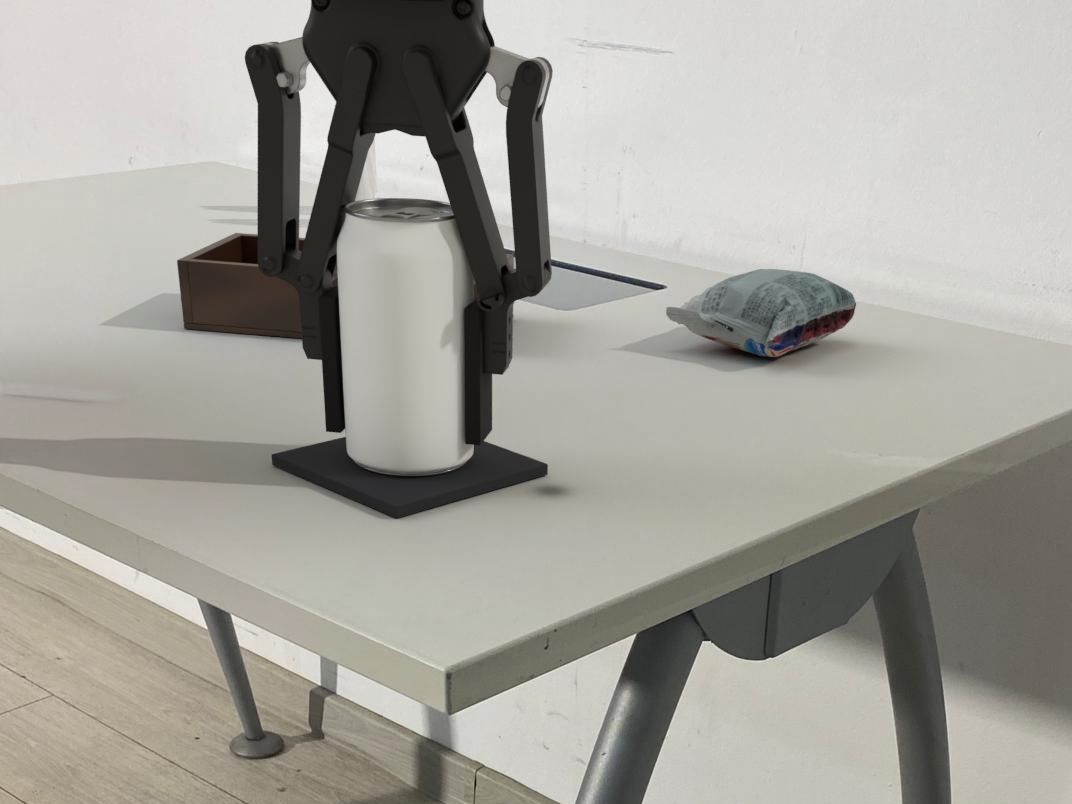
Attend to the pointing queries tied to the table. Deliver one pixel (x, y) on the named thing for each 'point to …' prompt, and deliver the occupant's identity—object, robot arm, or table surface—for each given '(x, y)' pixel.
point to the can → (403, 336)
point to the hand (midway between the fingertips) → (410, 429)
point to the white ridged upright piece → (368, 177)
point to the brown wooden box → (241, 291)
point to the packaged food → (767, 311)
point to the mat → (407, 493)
